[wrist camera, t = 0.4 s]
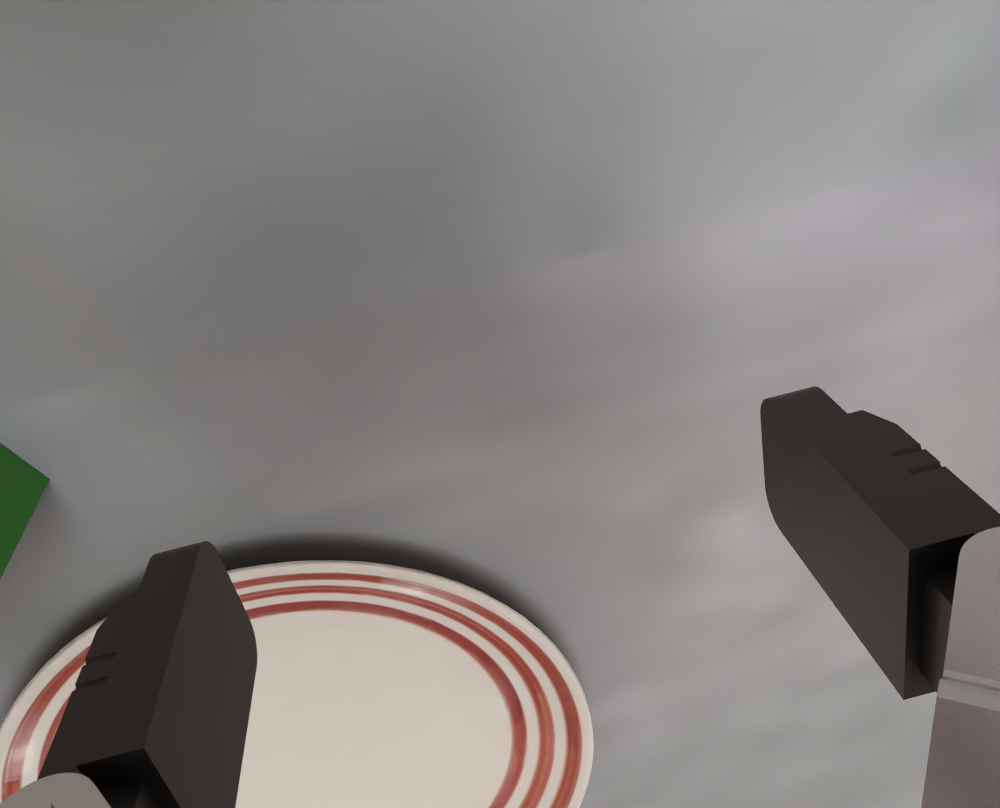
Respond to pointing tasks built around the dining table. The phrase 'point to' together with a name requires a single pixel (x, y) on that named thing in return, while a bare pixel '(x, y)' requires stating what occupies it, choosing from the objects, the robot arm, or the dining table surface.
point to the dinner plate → (372, 696)
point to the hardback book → (16, 500)
